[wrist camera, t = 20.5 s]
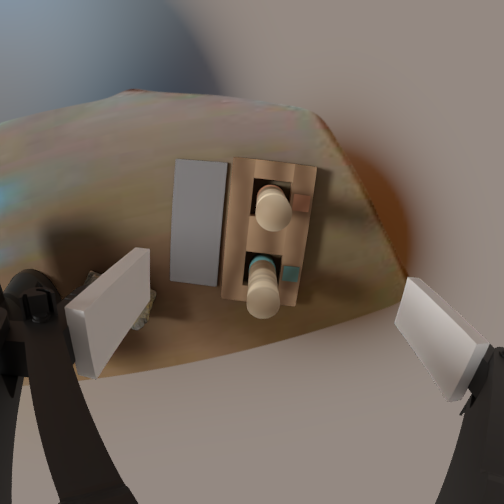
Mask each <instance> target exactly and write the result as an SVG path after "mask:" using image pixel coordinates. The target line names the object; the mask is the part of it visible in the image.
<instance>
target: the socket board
mask: <svg viewBox="0 0 504 504" xmlns="http://www.w3.org/2000/svg"><path fill="white" fill-rule="evenodd" d="M316 171H317V167H313V166H306V165H299V164H292V163H284V162H276V161H268V160H260V159H250V158H241V157H234V158H233V167H232V177H231V187H230V197H229V208H228V218H227V229H226V240H225V252H224V263H223V275H222V288H221V298H222V299H230V300H239V301H247V292H248V280H245V279H243V276H244V267H245V258H246V251H249V252H258V253H267V254H275V255H281V261H280V268H279V274H278V281H277V284H278V291H279V299H280V305H285V306H295V305H296V299H297V294H298V288H299V283H300V277H301V271H302V265H303V259H304V253H305V247H306V241H307V234H308V228H309V221H310V215H311V208H312V201H313V194H314V186H315V179H316ZM254 178H260V179H268V180H277V181H285V182H291V187H290V195H289V204H290V206H291V209H292V218H291V221H290V223H289V224H288V225H287V226H286V227H285V228H284V229H282V230H280V231H274V232H273V231H268V230H265V229H264V228H262V227H261V226H260V225H259V223H258V222H257V220H256V215H255V213H250V212H251V203H252V193H253V184H254Z"/></svg>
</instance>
